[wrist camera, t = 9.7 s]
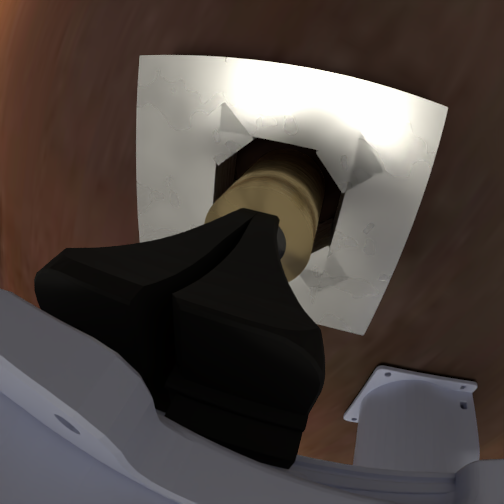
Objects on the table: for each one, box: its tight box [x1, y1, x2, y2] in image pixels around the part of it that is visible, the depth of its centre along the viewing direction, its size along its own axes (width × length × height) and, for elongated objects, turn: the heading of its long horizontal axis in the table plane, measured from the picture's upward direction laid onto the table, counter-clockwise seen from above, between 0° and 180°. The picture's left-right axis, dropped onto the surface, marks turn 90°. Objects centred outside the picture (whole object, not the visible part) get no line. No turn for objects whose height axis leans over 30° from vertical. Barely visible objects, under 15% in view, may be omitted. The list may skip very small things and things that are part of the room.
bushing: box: [204, 149, 325, 282], centre depth 14 cm, size 4×4×6 cm
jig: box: [136, 55, 448, 335], centre depth 15 cm, size 13×12×3 cm
